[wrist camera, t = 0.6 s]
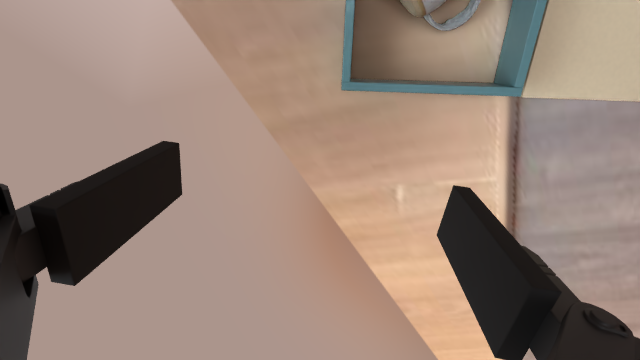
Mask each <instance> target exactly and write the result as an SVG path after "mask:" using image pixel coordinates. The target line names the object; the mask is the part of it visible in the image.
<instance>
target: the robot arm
mask: <svg viewBox="0 0 640 360" xmlns="http://www.w3.org/2000/svg"><path fill="white" fill-rule="evenodd" d="M181 195H182V184H181V168H180V150H179V143H174V142H167V141H162V142H160V143H158V144H156V145H154V146H152V147H150V148H148V149H145V150H143V151H141V152H139V153H137V154H135V155H133V156H131V157H129V158H127V159H125V160H122V161H121V162H118V163H116V164H114V165H112V166H110V167H108V168H106V169H104V170H102V171H100V172H98V173H96V174H93V175H91V176H89V177H87V178H85V179H83V180H81V181H78V182H75V183H72V184H70V185H68V186H66V187H64V188H61V190H57V191H55V192H53V193H51V194H50V195H47V196H45V197H43V198H41V199H38V200H36V201H34V202H32V203H30V204H28V205H26V206H24V207H21V208H20V209H17V210H15V208H14V205H13V202H12V199H11V195H10V192H9V189H8V186H6V185H4V184H0V360H27V354H28V348H29V341H30V335H31V328H32V322H33V315H34V309H35V303H36V296H37V290H38V281H37V278H36V274H37V273H39V272H40V271H41V270H43V269H44V268H46V267H47V268H48V272H49V275H50V279H51V282H55V283H62V284H67V285H73V286H75V285H76V284H77V283H79V282H80V281H81V280H82V279H83V278H84V277H86V276H87V275H88V274H89V273H90V272H92V271H93V270H94V269H95V268H96V267H98V266H99V265H100V264H101V263H102V262H103V261H105V260H106V259H107V258H108V257H109V256H110V255H112V254H113V253H114V252H115V251H116V250H117V249H118V248H120V247H121V246H122V245H123V244H124V243H126V242H127V241H128V240H129V239H130V238H131V237H133V236H134V235H135V234H136V233H137V232H139V231H140V230H141V229H142V228H143V227H144V226H146V225H147V224H148V223H149V222H150V221H151V220H153V219H154V218H155V217H156V216H157V215H159V214H160V213H161V212H162V211H163V210H164V209H166V208H167V207H168V206H169V205H170V204H171V203H172V202H174V201H175V200H176V199H177V198H178V197H180V196H181ZM437 237H438V239H439V241H440V243H441V245H442V247H443V249H444V251H445V253H446V256H447V258H448V260H449V262H450V264H451V266H452V268H453V270H454V272H455V274H456V277H457V279H458V281H459V283H460V285H461V287H462V289H463V291H464V293H465V296H466V298H467V300H468V302H469V304H470V306H471V308H472V310H473V312H474V314H475V317H476V319H477V321H478V323H479V325H480V327H481V329H482V331H483V333H484V336H485V338H486V340H487V342H488V344H489V346H490V348H491V350H492V352H493V354H494V357H495V358H500V359H505V360H522V359H523V357H524V356H525V354H526V352H527V351H528V349H529V348H530V349H531V351H532V353H533V354H534V356H535V358H536V359H537V360H640V339H639V338H636V337H634V336H633V333H632V331H631V330H630V329H629V328H628V327H627V326H626V325H625V323H623V322H622V321H621V320H619V319H618V318H617V317H615V316H614V315H612V314H611V313H609V312H607V311H605V310H604V309H602V308H599V307H597V306H594V305H592V304H588V303H584V302H581V301H580V300H579V299H578V298H577V297H576V296H575V295H574V294H573V293H572V291H571V290H570V289H569V288H568V287H567V286H566V285H565V284H564V283H563V282H562V281H561V280H560V279H559V277H557V276H556V274H555V273H554V272H553V271H552V270H551V269H550V268H548V266H547V264H546V263H545V262H544V261H543V260H542V259H541V258H540V257H539V256H538V255H537V254H535V253H534V252H532V251H531V250H529V249H528V248H527V247H525V246H521V245H520V244H519V243H518V242H517V241H516V240H515V238H514V237H513V236H512V235H511V234H510V233H509V232H508V231H507V229H506V228H505V227H504V226H503V225H502V224H501V223H500V221H499V220H498V219H497V218H496V217H495V216H494V215H493V214H492V212H491V211H490V210H489V209H488V208H487V207H486V206H485V204H484V203H483V202H482V201H481V200H480V199H479V198H478V197H477V195H476V194H475V193H474V192H473V191H472V190H471V189H470V188H467V187H461V186H454V185H453V188H452V191H451V194H450V197H449V200H448V203H447V206H446V209H445V212H444V215H443V218H442V221H441V224H440V227H439V230H438V233H437Z"/></svg>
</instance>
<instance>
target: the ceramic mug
mask: <svg viewBox="0 0 640 360" xmlns="http://www.w3.org/2000/svg"><path fill="white" fill-rule="evenodd" d="M446 1H447V0H400V2H401V3H402V4H403V6H404V7H405V8H406V9H407V10H408V11H409V12H410V13H411V14H412V15H413V16H415V17H423V16H424V18H425V20H426V21H427V22H428V23H429V24H430V25H432V26H433V27H435V28H436V29H438V30H444V31H447V30H452V29H455V28H457V27H459V26H461V25H462V24H464V23H465V22H466V21H467V20H469V19H470V18H471V17H472V15H473V14H474V13H475V11H476V10H477V8H478V5H479V3H480V0H470V2H469V4H468V6H467V7H466V8H465V10H463V11H462V12H461V13H459V14H458V15H456V16H455V17H454V18H452V19H449V20H447V21H446V22H445V23H444V24H439V23H436V22H435V21H434V20H433V19H432V17H431V15H430V13H431V12H432V11H434V10H435V9H437V8H438V7H439V6H441V5H442V4H443V3H444V2H446Z"/></svg>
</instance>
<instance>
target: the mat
mask: <svg viewBox="0 0 640 360" xmlns="http://www.w3.org/2000/svg"><path fill="white" fill-rule="evenodd" d="M521 97H523V98H551V99H580V100H608V101H637V102H640V0H547V3H546V7H545V10H544V14H543V18H542V21H541V25H540V29H539V32H538V36H537V40H536V43H535V47H534V51H533V54H532V58H531V61H530V65H529V69H528V72H527V76H526V80H525V83H524V87H523V91H522V94H521Z"/></svg>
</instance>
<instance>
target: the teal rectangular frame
mask: <svg viewBox="0 0 640 360" xmlns="http://www.w3.org/2000/svg"><path fill="white" fill-rule="evenodd" d="M546 3H547V0H513V3H512V8H511V12H510V16H509V20H508V24H507V29H506V33H505V37H504V41H503V46H502V50H501V54H500V58H499V62H498V67H497V71H496V75H495V79H494V83H475V82H444V81H413V80H381V79H350V77H351V60H352V44H353V27H354V10H355V0H346V9H345V29H344V49H343V69H342V90H348V91H377V92H405V93H434V94H462V95H491V96H519V97H520V96H521V93H522V90H523V86H524V83H525V79H526V75H527V72H528V68H529V64H530V61H531V57H532V54H533V50H534V46H535V43H536V39H537V35H538V32H539V28H540V24H541V21H542V17H543V14H544V10H545V6H546Z"/></svg>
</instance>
